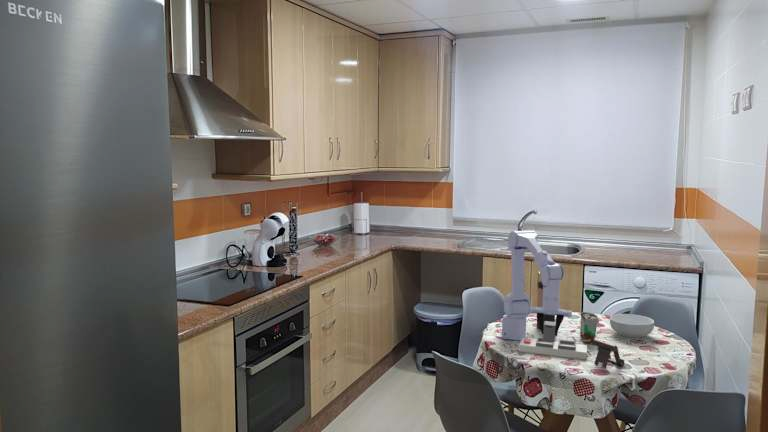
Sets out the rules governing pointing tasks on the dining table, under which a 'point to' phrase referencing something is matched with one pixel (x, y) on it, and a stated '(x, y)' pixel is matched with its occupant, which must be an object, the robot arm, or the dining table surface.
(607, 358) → the portable electronic device stand
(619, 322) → the cereal bowl
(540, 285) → the travel mug
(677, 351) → the dining table surface
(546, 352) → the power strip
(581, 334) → the food container
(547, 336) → the block
